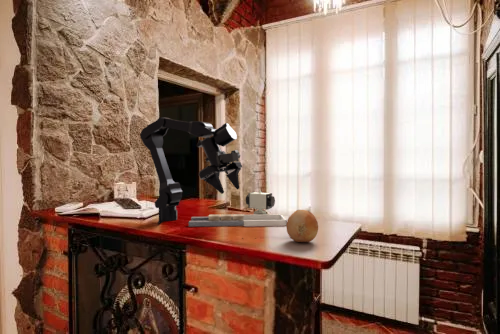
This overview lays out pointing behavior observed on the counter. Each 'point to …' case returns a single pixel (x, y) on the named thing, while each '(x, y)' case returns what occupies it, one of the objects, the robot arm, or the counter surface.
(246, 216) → the tray
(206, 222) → the slot rail
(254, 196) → the pneumatic valve
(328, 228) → the counter surface
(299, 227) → the onion
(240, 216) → the block
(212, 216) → the block
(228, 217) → the block
